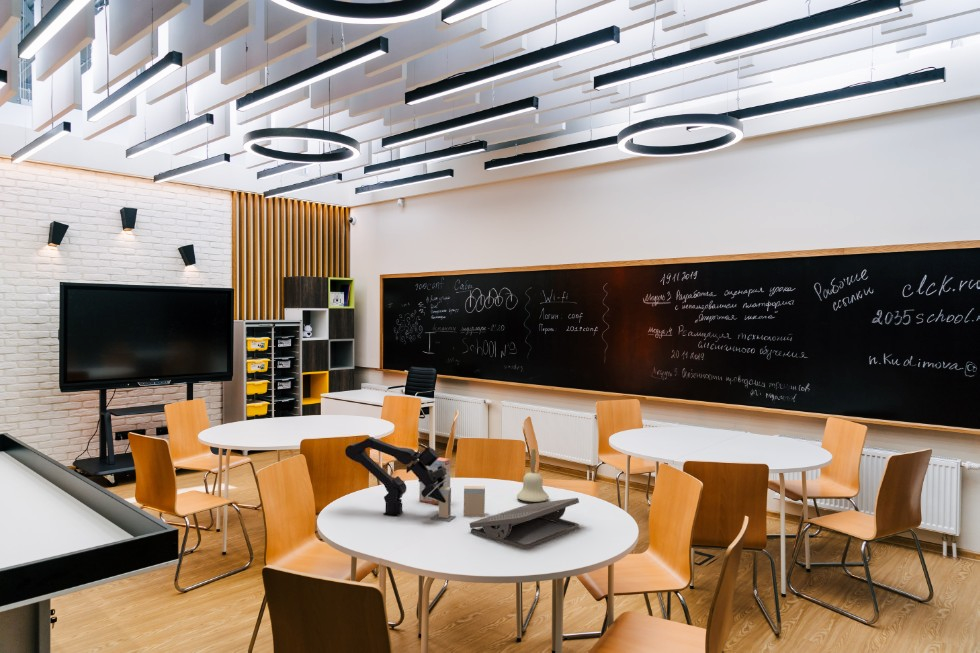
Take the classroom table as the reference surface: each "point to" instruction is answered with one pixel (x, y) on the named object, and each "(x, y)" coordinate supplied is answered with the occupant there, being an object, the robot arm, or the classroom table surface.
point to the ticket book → (474, 500)
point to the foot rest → (522, 514)
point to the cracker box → (434, 467)
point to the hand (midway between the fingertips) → (446, 500)
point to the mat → (443, 518)
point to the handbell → (532, 484)
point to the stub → (445, 507)
